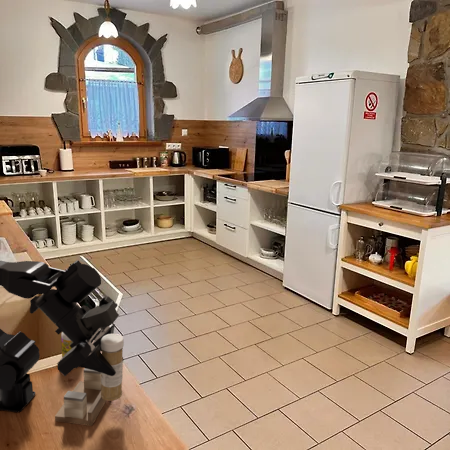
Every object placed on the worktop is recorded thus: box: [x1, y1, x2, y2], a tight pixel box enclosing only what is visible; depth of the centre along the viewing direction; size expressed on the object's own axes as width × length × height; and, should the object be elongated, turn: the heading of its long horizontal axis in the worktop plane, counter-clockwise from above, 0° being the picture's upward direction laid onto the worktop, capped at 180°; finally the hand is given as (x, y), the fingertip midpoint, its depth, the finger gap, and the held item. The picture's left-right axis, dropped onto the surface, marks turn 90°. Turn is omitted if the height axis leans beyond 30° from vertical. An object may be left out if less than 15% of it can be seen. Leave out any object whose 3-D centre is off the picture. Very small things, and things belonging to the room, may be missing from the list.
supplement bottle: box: [60, 332, 72, 358], centre depth 109 cm, size 5×5×10 cm
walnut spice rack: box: [54, 368, 107, 427], centre depth 94 cm, size 8×12×6 cm, turn 174°
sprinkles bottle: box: [101, 333, 125, 402], centre depth 89 cm, size 5×5×13 cm
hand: (118, 367), depth 89 cm, fingers closed on sprinkles bottle, 4 cm apart
